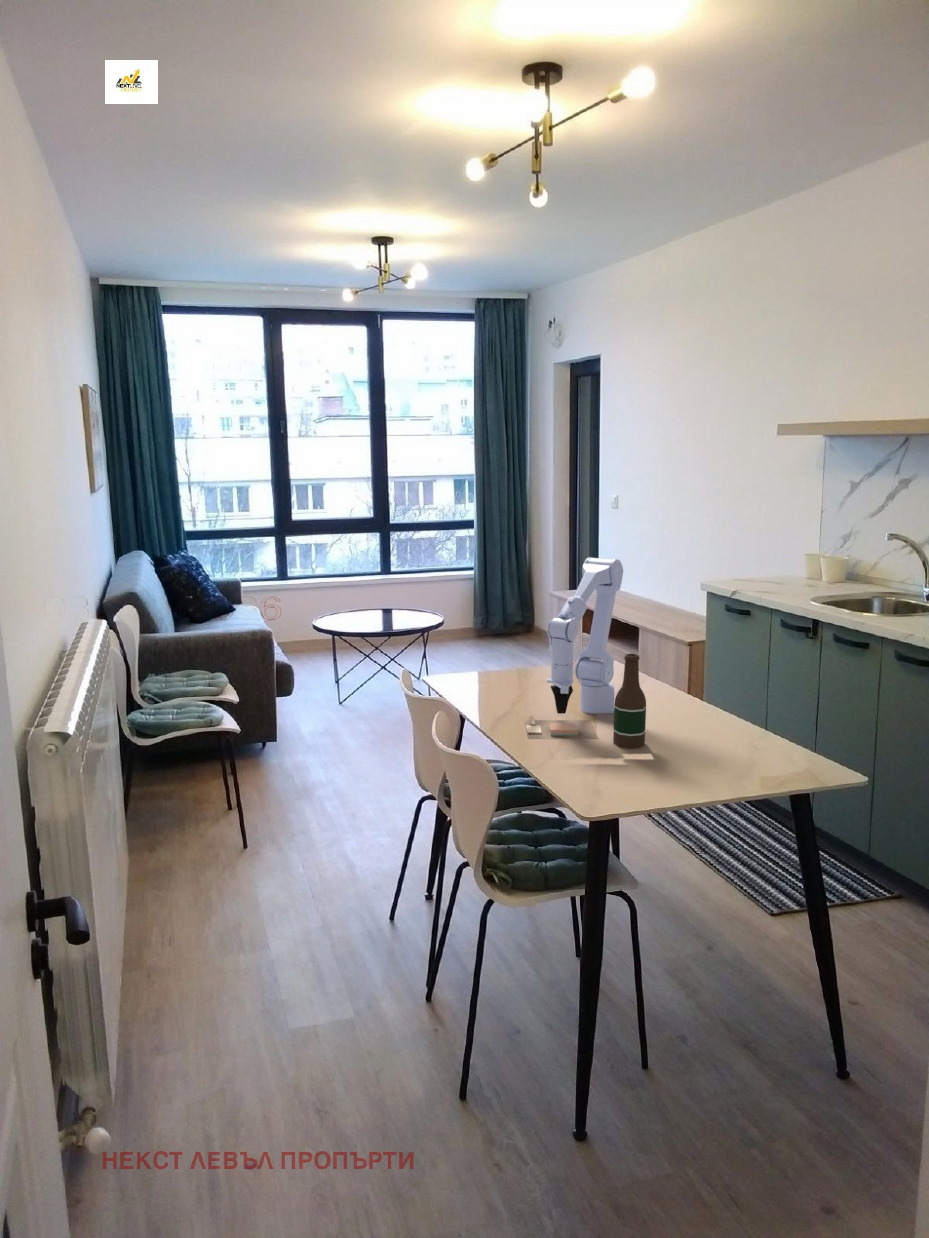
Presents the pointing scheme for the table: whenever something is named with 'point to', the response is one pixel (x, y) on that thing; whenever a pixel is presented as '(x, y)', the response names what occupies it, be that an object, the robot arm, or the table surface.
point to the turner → (533, 727)
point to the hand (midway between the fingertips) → (561, 712)
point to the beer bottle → (630, 708)
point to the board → (584, 732)
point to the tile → (563, 729)
